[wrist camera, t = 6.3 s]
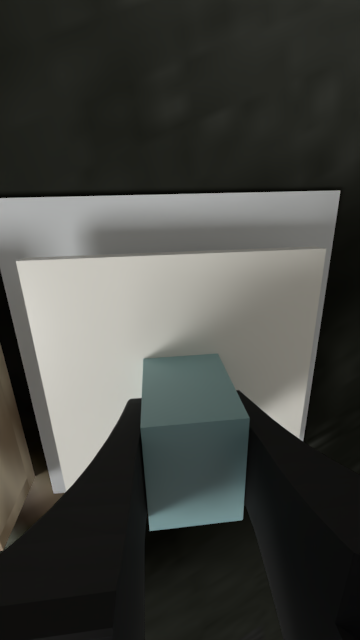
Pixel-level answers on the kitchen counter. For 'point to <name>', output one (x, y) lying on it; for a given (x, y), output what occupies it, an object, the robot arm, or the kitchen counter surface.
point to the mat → (151, 249)
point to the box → (11, 458)
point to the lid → (174, 361)
